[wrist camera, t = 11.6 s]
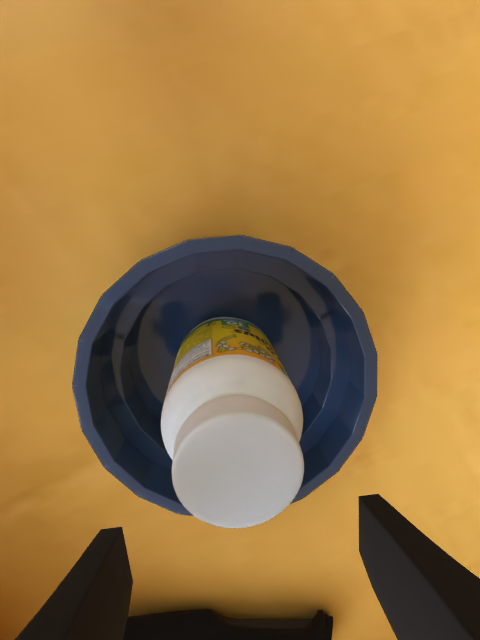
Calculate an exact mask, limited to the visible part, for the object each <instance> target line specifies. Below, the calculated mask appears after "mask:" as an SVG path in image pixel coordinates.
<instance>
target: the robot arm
mask: <svg viewBox="0 0 480 640" xmlns="http://www.w3.org/2000/svg"><path fill="white" fill-rule="evenodd" d="M359 552H360V555H361V557H362V560H363V563H364V566H365V568H366V571H367V574H368V577H369V579H370V582H371V584H372V587H373V590H374V592H375V594H376V596H377V598H378V600H379V602H380V604H381V606H382V608H383V610H384V613H385V615H386V617H387V619H388V621H389V623H390V625H391V627H392V629H393V631H394V633H395V635H396V637H397V639H398V640H480V579H479V578H478V577H477V576H475V575H474V574H473V573H471V572H470V571H469V570H467V569H466V568H465V567H464V566H462V565H461V564H460V563H458V562H457V561H456V560H455V559H453V558H452V557H451V556H450V555H448V554H447V553H446V552H445V551H443V550H442V549H441V548H440V547H439V546H437V545H436V544H435V543H434V542H433V541H431V540H430V539H429V538H428V537H427V536H425V535H424V534H423V533H422V532H421V531H420V530H418V529H417V528H416V527H415V526H414V525H413V524H412V523H410V522H409V521H408V520H407V519H406V518H405V517H404V516H403V515H401V514H400V513H399V512H398V511H397V510H396V509H395V508H394V507H392V506H391V505H390V504H389V503H388V502H387V501H386V500H385V499H383V498H382V497H381V496H380V495H379V494H374V495H366V496H359ZM132 584H133V579H132V574H131V570H130V565H129V560H128V555H127V550H126V545H125V540H124V535H123V530H122V527H117V528H109V529H101V530H100V532H99V533H98V534H97V535H96V537H95V538H94V539H93V541H92V542H91V543H90V545H89V546H88V547H87V549H86V550H85V551H84V553H83V554H82V556H81V557H80V558H79V560H78V561H77V562H76V564H75V565H74V566H73V568H72V569H71V570H70V572H69V573H68V574H67V576H66V577H65V578H64V580H63V581H62V582H61V583H60V585H59V586H58V587H57V589H56V590H55V591H54V592H53V594H52V595H51V596H50V598H49V599H48V600H47V601H46V603H45V604H44V605H43V606H42V608H41V609H40V610H39V611H38V613H37V614H36V615H35V616H34V617H33V619H32V620H31V621H30V622H29V623H28V625H27V626H26V627H25V628H24V629H23V631H22V632H21V633H20V634H19V635H18V637H17V638H16V639H15V640H123V636H124V632H125V627H126V623H127V617H128V611H129V605H130V598H131V591H132Z"/></svg>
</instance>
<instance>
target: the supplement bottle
mask: <svg viewBox="0 0 480 640" xmlns="http://www.w3.org/2000/svg"><path fill="white" fill-rule="evenodd" d="M302 429H303V413H302V407H301V402H300V400H299V397H298V394H297V392H296V390H295V388H294V386H293V384H292V382H291V380H290V378H289V376H288V375H287V373H286V371H285V369H284V367H283V365H282V364H281V362H280V360H279V358H278V356H277V355H276V353H275V351H274V349H273V347H272V345H271V343H270V341H269V340H268V338H267V337H266V335H265V334H264V333H263V332H262V331H261V330H260V329H259V328H258V327H256V326H255V325H254V324H252V323H250V322H248V321H245V320H242V319H238V318H232V317H216V318H212V319H209V320H206V321H204V322H202V323H200V324H199V325H197V326H196V327H195V328H193V329H192V330H191V331H190V332H189V333H188V334H187V336H186V337H185V339H184V340H183V342H182V344H181V346H180V348H179V351H178V353H177V357H176V360H175V364H174V368H173V372H172V376H171V379H170V382H169V386H168V389H167V393H166V397H165V400H164V404H163V409H162V414H161V433H162V438H163V442H164V445H165V448H166V450H167V452H168V454H169V456H170V457H171V459H172V460H173V462H172V482H173V487H174V490H175V492H176V495H177V497H178V498H179V500H180V502H181V503H182V505H183V506H184V507H185V508H186V509H187V510H188V511H189V512H190V513H191V514H192V515H194V516H195V517H196V518H198V519H200V520H201V521H204V522H206V523H208V524H211V525H214V526H218V527H223V528H246V527H251V526H254V525H258V524H261V523H263V522H266V521H268V520H270V519H272V518H274V517H275V516H277V515H278V514H280V513H281V512H282V511H283V510H284V509H285V508H286V507H287V506H288V505H289V504H290V503H291V502H292V501H293V499H294V498H295V496H296V494H297V493H298V491H299V489H300V486H301V484H302V481H303V475H304V459H303V453H302V450H301V447H300V444H299V441H300V438H301V434H302Z"/></svg>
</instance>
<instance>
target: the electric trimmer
mask: <svg viewBox="0 0 480 640" xmlns="http://www.w3.org/2000/svg"><path fill="white" fill-rule="evenodd" d="M332 630H333V616H331V615H330V616H327V618H326V615H325V614H324V612H323V610H318V612H317V615H316V616H315V617H314V618H313V619H312V620H271V619H222V618H221V617H220V616H218V615H217V614H216V613H214V612H213V611H212V610H209V609H205V610H191V611H178V612H168V613H158V614H149V615H139V616H129V617H127V623H126V627H125V632H124V636H123V640H332Z"/></svg>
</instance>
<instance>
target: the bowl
mask: <svg viewBox="0 0 480 640" xmlns="http://www.w3.org/2000/svg"><path fill="white" fill-rule="evenodd" d="M216 317H232V318H238V319H242V320H245V321H248V322H250V323H252V324H254V325H255V326H256V327H258V328H259V329H260V330H261V331H262V332H263V333H264V334H265V335H266V337H267V338H268V340H269V341H270V343H271V345H272V347H273V349H274V351H275V353H276V355H277V356H278V358H279V360H280V362H281V364H282V365H283V367H284V369H285V371H286V373H287V375H288V376H289V378H290V380H291V382H292V384H293V386H294V388H295V390H296V392H297V394H298V397H299V400H300V402H301V407H302V413H303V429H302V434H301V438H300V441H299V444H300V447H301V450H302V453H303V459H304V475H303V481H302V484H301V486H300V489H299V491H298V493H297V494H296V496H295V498H294V499H293V501H292V502H291V503H294V502H296V501H299V500H301V499H303V498H305V497H306V496H307V495H309V494H310V493H311V492H312V491H314V490H315V489H316V488H318V487H319V486H320V485H322V484H323V483H324V482H325V481H327V480H328V479H329V478H331V477H332V476H333V475H335V474H336V473H337V472H338V471H339V470H340V468H341V467H342V466H343V464H344V463H345V462H346V460H347V459H348V457H349V456H350V455H351V453H352V452H353V451H354V449H355V448H356V447H357V445H358V444H359V443H360V441H361V440H362V437H363V436H364V433H365V430H366V427H367V424H368V421H369V418H370V415H371V413H372V410H373V407H374V404H375V401H376V397H377V351H376V348H375V345H374V342H373V339H372V336H371V333H370V330H369V327H368V324H367V321H366V318H365V315H364V312H363V311H362V309H361V308H360V307H359V305H358V304H357V303H356V301H355V300H354V299H353V298H352V296H351V295H350V294H349V293H348V291H347V290H346V289H345V287H344V286H343V285H342V284H341V282H340V281H339V280H338V278H337V277H336V276H335V275H334V274H333V273H332V272H330V271H329V270H327V269H326V268H324V267H322V266H321V265H319V264H318V263H316V262H315V261H313V260H311V259H310V258H308V257H307V256H305V255H304V254H302V253H301V252H299V251H297V250H296V249H294V248H291V247H290V246H286V245H282V244H277V243H273V242H269V241H265V240H261V239H257V238H253V237H249V236H245V235H228V236H216V237H204V238H194V239H189V240H186V241H183V242H181V243H179V244H176V245H174V246H172V247H169V248H167V249H165V250H163V251H160V252H158V253H156V254H153V255H151V256H149V257H146V258H144V259H142V260H140V261H139V262H137V263H136V264H135V265H134V266H133V267H132V268H131V269H130V270H129V271H128V272H127V273H125V274H124V275H123V276H122V277H121V278H120V279H119V280H118V281H117V282H116V283H114V284H113V285H112V286H111V287H110V288H109V289H108V290H107V291H106V292H105V293H103V295H102V296H101V297H100V299H99V301H98V303H97V305H96V307H95V309H94V310H93V312H92V314H91V316H90V318H89V320H88V322H87V324H86V325H85V327H84V329H83V331H82V333H81V335H80V337H79V340H78V346H77V353H76V360H75V367H74V375H73V382H72V385H73V386H72V388H73V392H74V397H75V402H76V407H77V411H78V416H79V421H80V425H81V429H82V432H83V434H84V435H85V437H86V439H87V440H88V442H89V444H90V445H91V447H92V449H93V450H94V452H95V453H96V455H97V457H98V458H99V460H100V462H101V463H102V465H103V467H105V469H106V470H108V471H109V472H110V473H111V474H112V475H113V476H114V477H116V478H117V479H118V480H119V481H120V482H121V483H123V484H124V485H125V486H126V487H127V488H128V489H130V490H131V491H132V492H133V493H134V494H135V495H137V496H138V497H140V498H142V499H144V500H147V501H149V502H151V503H153V504H156V505H158V506H160V507H163V508H165V509H167V510H169V511H172V512H174V513H176V514H177V513H178V514H181V515H188V516H194V515H192V514H191V513H190V512H189V511H188V510H187V509H186V508H185V507H184V506H183V505H182V503H181V502H180V500H179V498H178V497H177V495H176V492H175V490H174V487H173V482H172V462H173V460H172V459H171V457H170V456H169V454H168V452H167V450H166V448H165V445H164V442H163V438H162V433H161V414H162V409H163V404H164V400H165V397H166V393H167V389H168V386H169V382H170V379H171V376H172V372H173V368H174V364H175V360H176V357H177V353H178V351H179V348H180V346H181V344H182V342H183V340H184V339H185V337H186V336H187V334H188V333H189V332H190V331H191V330H192V329H193V328H195V327H196V326H197V325H199V324H200V323H202V322H204V321H206V320H209V319H212V318H216ZM291 503H290V504H291Z"/></svg>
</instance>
